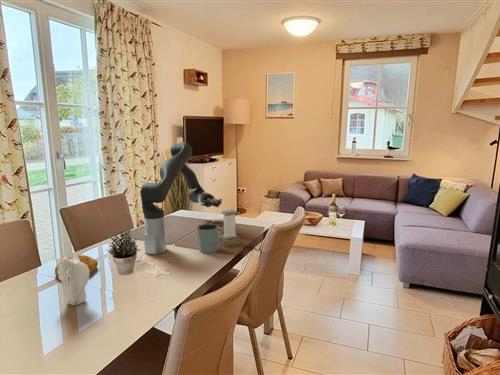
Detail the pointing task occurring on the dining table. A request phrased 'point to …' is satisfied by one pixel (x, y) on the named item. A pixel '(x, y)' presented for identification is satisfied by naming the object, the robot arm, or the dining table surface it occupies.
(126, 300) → the dining table surface
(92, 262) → the croissant
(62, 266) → the shell sculpture
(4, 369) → the dining table surface
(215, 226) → the teal cylindrical container
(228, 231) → the white tall block
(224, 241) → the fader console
